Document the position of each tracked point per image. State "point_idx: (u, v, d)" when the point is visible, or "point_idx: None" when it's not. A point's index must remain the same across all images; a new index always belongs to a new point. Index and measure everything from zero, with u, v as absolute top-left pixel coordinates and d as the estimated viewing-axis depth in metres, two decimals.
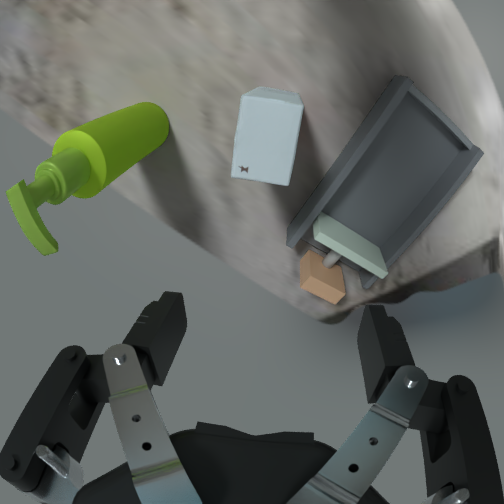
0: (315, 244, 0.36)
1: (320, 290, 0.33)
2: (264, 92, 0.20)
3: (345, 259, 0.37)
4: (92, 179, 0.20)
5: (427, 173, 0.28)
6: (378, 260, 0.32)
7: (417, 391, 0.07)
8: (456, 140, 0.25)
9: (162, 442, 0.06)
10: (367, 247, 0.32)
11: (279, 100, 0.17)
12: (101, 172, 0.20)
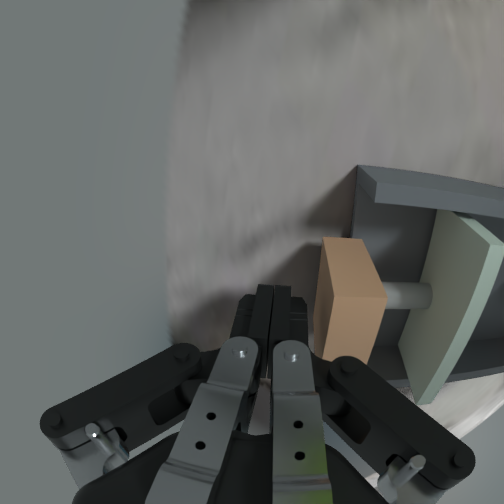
0: None
1: (346, 342, 0.11)
2: None
3: None
4: None
5: None
6: None
7: (292, 365, 0.09)
8: None
9: (217, 450, 0.06)
10: None
11: None
12: None
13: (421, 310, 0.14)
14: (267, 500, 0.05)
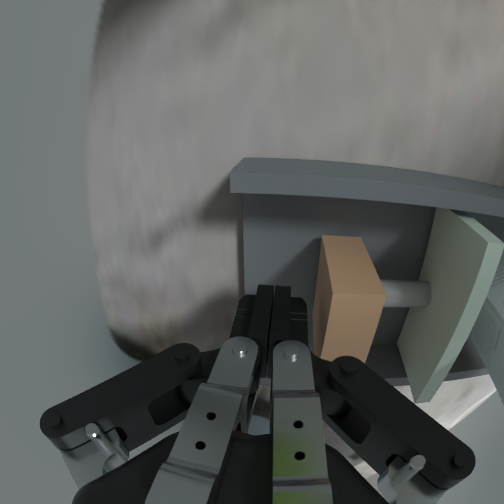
0: (249, 235, 0.15)
1: (345, 339, 0.11)
2: None
3: None
4: None
5: None
6: None
7: (293, 365, 0.09)
8: None
9: (217, 450, 0.06)
10: None
11: None
12: None
13: (419, 308, 0.14)
14: (267, 500, 0.05)
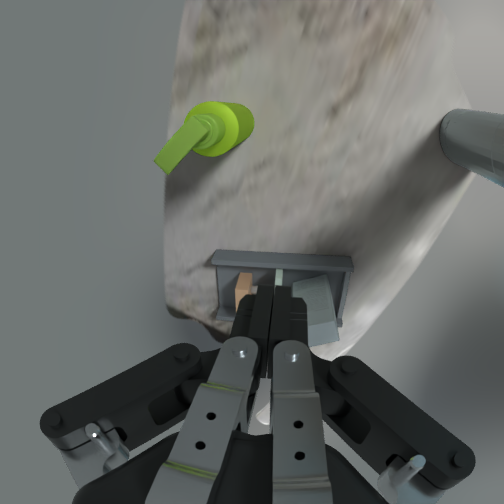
0: (218, 271, 0.51)
1: None
2: None
3: (221, 293, 0.53)
4: (207, 147, 0.29)
5: None
6: None
7: (293, 365, 0.09)
8: (336, 307, 0.51)
9: (217, 450, 0.06)
10: None
11: (337, 332, 0.39)
12: (215, 152, 0.29)
13: None
14: (267, 500, 0.05)
